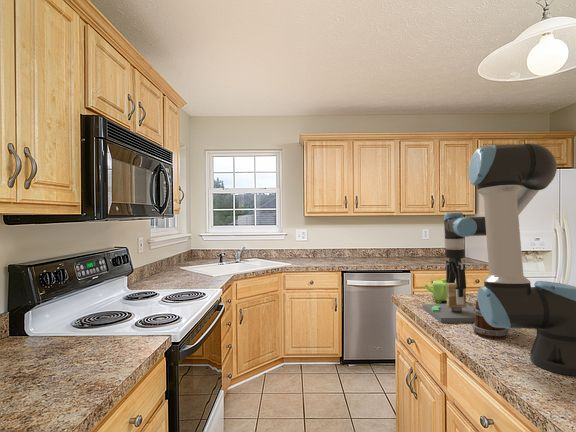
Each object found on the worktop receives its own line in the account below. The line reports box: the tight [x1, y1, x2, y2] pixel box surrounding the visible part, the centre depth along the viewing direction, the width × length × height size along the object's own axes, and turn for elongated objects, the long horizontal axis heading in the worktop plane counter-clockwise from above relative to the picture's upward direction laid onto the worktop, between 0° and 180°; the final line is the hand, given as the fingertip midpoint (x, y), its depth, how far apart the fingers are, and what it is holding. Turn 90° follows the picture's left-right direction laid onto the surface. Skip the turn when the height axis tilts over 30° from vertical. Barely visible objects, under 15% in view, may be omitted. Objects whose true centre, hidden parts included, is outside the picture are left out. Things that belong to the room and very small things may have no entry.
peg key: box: [446, 283, 467, 313], centre depth 153 cm, size 11×7×12 cm, turn 177°
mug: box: [471, 299, 510, 340], centre depth 127 cm, size 12×14×15 cm
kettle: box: [423, 278, 456, 304], centre depth 174 cm, size 15×14×11 cm
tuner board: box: [422, 303, 475, 324], centre depth 151 cm, size 22×20×3 cm
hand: (456, 302), depth 149 cm, fingers open, 7 cm apart
